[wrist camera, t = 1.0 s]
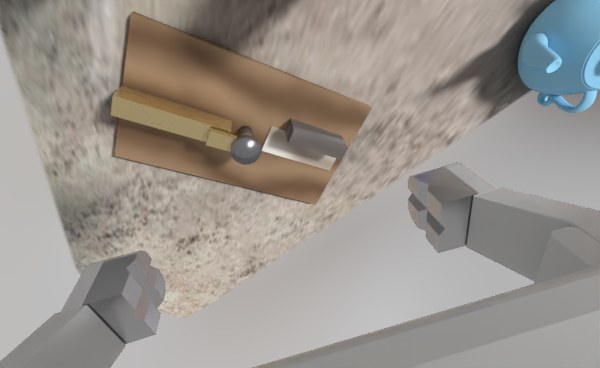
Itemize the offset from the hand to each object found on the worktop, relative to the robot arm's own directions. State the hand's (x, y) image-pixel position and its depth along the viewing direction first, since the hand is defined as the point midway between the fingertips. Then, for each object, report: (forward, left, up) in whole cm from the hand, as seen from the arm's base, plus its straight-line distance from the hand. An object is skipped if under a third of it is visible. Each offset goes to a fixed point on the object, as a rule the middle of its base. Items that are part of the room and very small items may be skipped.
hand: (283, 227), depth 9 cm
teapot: (-15, +38, -32) cm, 52 cm away
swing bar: (+12, -3, -31) cm, 33 cm away
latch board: (+12, +3, -32) cm, 35 cm away
